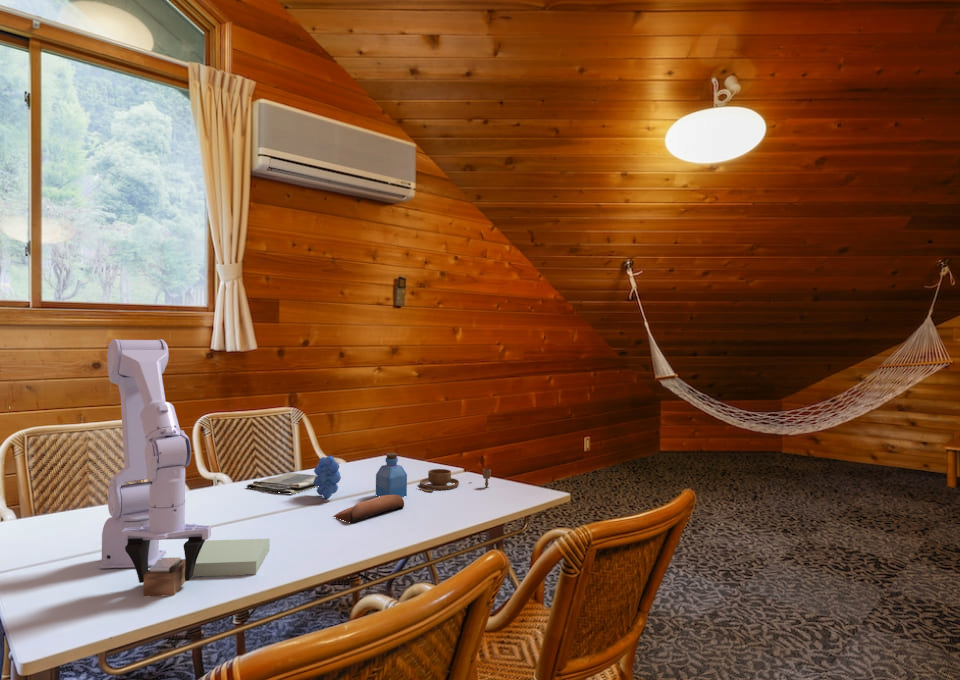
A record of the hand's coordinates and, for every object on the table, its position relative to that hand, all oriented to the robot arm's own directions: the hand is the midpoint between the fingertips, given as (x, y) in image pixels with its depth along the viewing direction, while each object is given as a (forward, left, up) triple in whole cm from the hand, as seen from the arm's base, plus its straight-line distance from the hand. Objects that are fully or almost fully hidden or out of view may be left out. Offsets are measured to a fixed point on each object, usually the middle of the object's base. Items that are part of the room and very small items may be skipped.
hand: (166, 579), depth 110 cm
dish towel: (+10, +74, -2) cm, 75 cm away
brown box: (0, 0, -2) cm, 2 cm away
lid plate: (0, 0, +2) cm, 2 cm away
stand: (+8, +11, -1) cm, 14 cm away
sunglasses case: (+34, +43, -2) cm, 55 cm away
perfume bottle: (+40, +59, -2) cm, 71 cm away
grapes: (+23, +59, -2) cm, 63 cm away
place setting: (+58, +68, -2) cm, 89 cm away
